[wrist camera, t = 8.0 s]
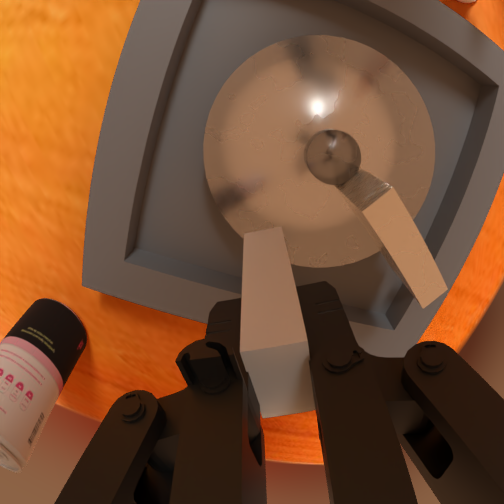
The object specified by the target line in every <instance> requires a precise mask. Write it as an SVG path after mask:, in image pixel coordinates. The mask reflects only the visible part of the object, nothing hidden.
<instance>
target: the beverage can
mask: <svg viewBox="0 0 504 504" xmlns="http://www.w3.org/2000/svg"><path fill="white" fill-rule="evenodd" d="M86 343H87V336H86V332H85V329H84V327H83V325H82V323H81V321H80V320H79V318H78V317H77V315H76V314H75V313H74V312H73V311H72V310H71V309H70V308H68V307H67V306H66V305H64V304H62V303H60V302H58V301H55V300H52V299H47V298H43V299H39V300H37V301H35V302H34V303H33V304H32V305H31V307H30V308H29V309H28V310H27V311H26V312H25V313H24V315H23V316H22V317H21V318H20V319H19V321H18V322H17V323H16V324H15V325H14V327H13V328H12V329H11V330H10V331H9V333H8V334H7V335H6V336H5V338H4V339H3V340H2V341H1V343H0V466H2V467H4V468H6V469H8V470H10V471H13V472H17V473H19V472H21V471H22V467H25V466H26V465H27V463H28V461H29V458H30V456H31V454H32V451H33V449H34V447H35V444H36V442H37V440H38V438H39V436H40V434H41V431H42V429H43V427H44V425H45V423H46V421H47V419H48V417H49V415H50V412H51V411H52V408H53V407H54V405H55V403H56V401H57V399H58V397H59V395H60V393H61V391H62V389H63V387H64V385H65V383H66V381H67V379H68V377H69V375H70V374H71V372H72V370H73V368H74V366H75V364H76V363H77V361H78V359H79V357H80V355H81V353H82V352H83V350H84V348H85V346H86Z"/></svg>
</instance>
